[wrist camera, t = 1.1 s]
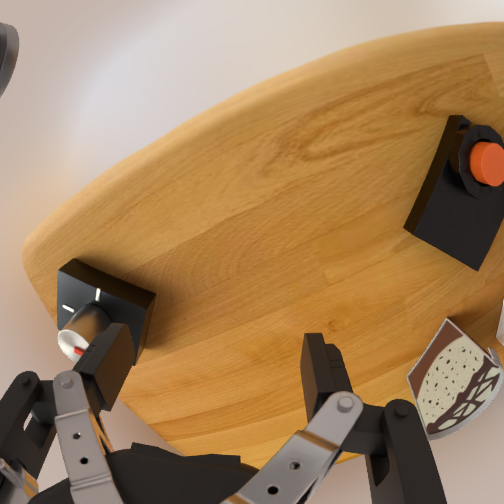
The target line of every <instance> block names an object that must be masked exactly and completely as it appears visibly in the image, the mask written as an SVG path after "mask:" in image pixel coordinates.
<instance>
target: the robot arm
mask: <svg viewBox="0 0 504 504" xmlns="http://www.w3.org/2000/svg"><path fill="white" fill-rule="evenodd" d="M134 360H135V349H134V345H133V341H132V337H131V333H130V329H129V326H128V325H127V324H120V323H111V324H110V326H109V327H108V328H107V330H106V331H105V332H101V333H100V334H98V335H97V336H96V337H94V338H93V340H92V341H91V343H90V344H89V346H88V347H87V348H86V350H85V352H84V353H83V354H82V356H81V357H80V359H79V360H78V362H77V363H76V365H75V366H74V368H73V370H72V371H64V372H61V373H60V374H58V375H57V376H56V377H55V378H54V380H45V381H44V380H42V381H41V380H40V379H39V377H38V376H37V374H36V373H35V372H32V371H26V372H22V373H21V374H19V375H18V376H17V377H16V378H15V379H14V381H13V382H12V384H11V385H10V387H9V388H8V390H7V391H6V393H5V394H4V396H3V398H2V399H1V400H0V504H306V503H307V502H308V500H309V499H310V498H311V497H312V495H313V494H314V493H315V491H316V490H317V488H318V487H319V485H320V484H321V482H322V481H323V480H324V478H325V477H326V475H327V474H328V473H329V471H330V470H331V469H332V467H333V466H334V464H335V463H336V461H337V460H338V458H339V457H340V456H341V454H342V453H343V451H345V452H351V453H358V454H365V459H366V466H367V472H368V478H369V484H370V491H371V498H372V504H447V501H446V498H445V494H444V490H443V487H442V483H441V480H440V476H439V473H438V470H437V466H436V463H435V460H434V457H433V454H432V451H431V448H430V445H429V442H428V439H427V436H426V433H425V430H424V427H423V425H422V422H421V419H420V416H419V414H418V411H417V409H416V407H415V406H414V405H413V404H412V403H411V402H409V401H407V400H403V399H395V400H392V401H390V402H389V403H387V405H386V406H385V407H380V406H373V405H368V404H365V403H363V402H362V400H361V399H360V397H359V396H357V395H356V394H354V393H353V390H352V387H351V383H350V380H349V377H348V374H347V371H346V368H345V364H344V361H343V358H342V355H341V352H340V350H339V349H338V348H337V347H336V346H335V345H334V344H325V342H324V338H323V335H322V333H305V334H304V340H303V347H302V354H301V363H300V369H301V377H302V384H303V391H304V399H305V406H306V413H307V421H308V425H307V426H306V427H305V428H304V429H303V430H302V431H300V430H298V431H296V432H295V433H294V434H293V435H292V436H291V438H290V439H289V440H288V441H287V442H286V443H285V444H284V445H283V446H282V448H281V449H280V450H279V451H278V452H277V453H276V454H275V455H274V456H273V457H272V458H271V459H270V460H269V461H268V462H267V463H266V464H265V465H264V466H263V468H262V469H261V470H259V469H257V468H255V467H253V466H250V465H247V464H244V463H241V460H240V456H236V455H219V454H208V455H198V456H187V457H182V456H179V455H177V454H174V453H171V452H169V451H166V450H164V449H161V448H159V447H155V446H150V445H144V444H139V443H134V442H133V443H132V446H131V449H123V450H118V451H114V449H113V447H112V445H111V443H110V440H109V438H108V435H107V433H106V430H105V427H104V425H103V422H102V419H101V417H100V415H99V414H100V412H101V410H106V411H111V409H112V407H113V405H114V403H115V401H116V398H117V396H118V394H119V392H120V390H121V388H122V386H123V384H124V381H125V379H126V377H127V375H128V373H129V371H130V369H131V367H132V365H133V363H134ZM29 413H31V414H32V418H31V420H30V422H29V424H28V426H27V428H26V429H25V431H24V428H23V427H24V423H25V421H26V419H27V417H28V415H29ZM56 433H57V435H58V439H59V443H60V448H61V452H62V456H63V459H64V463H65V467H66V470H67V473H68V478H66V479H64V480H62V481H61V482H59V483H57V484H55V485H54V486H52V487H50V488H48V489H46V490H44V491H42V492H40V493H39V492H38V484H37V478H38V476H39V473H40V471H41V468H42V466H43V463H44V461H45V458H46V456H47V454H48V451H49V449H50V447H51V444H52V442H53V440H54V438H55V435H56Z"/></svg>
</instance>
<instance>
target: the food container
mask: <svg viewBox="0 0 504 504" xmlns="http://www.w3.org/2000/svg"><path fill="white" fill-rule="evenodd" d="M488 350H489V353H490V355H489V354H488V353H487V352H486V351H485V350H484V349H483V348H482V347H481V346H480V345H479V344H478V343H477V342H476V341H475V340H474V339H473V338H471V337H470V336H469V335H468V334H467V333H466V332H465V331H464V330H463V329H462V328H461V327H459V326H458V325H457V324H456V323H455V322H454V321H453V320H451V319H449V318H447V317H446V319H445V320H444V322H443V324H442V325H441V327H440V328H439V330H438V332H437V333H436V335H435V336H434V338H433V339H432V341H431V342H430V344H429V345H428V347H427V348H426V350H425V351H424V353H423V354H422V356H421V357H420V358H419V360H418V361H417V363H416V364H415V365H414V367H413V368H412V370H411V371H410V372H409V374H408V375H407V376H406V378H407V381H408V383H409V386H410V389H411V392H412V395H413V398H414V401H415V404H416V407H417V410H418V413H419V416H420V419H421V422H422V425H423V427H424V430H425V433H426V436H427V439H428V441H431V440H436V439H440V438H443V437H445V436H448V435H450V434H452V433H454V432H456V431H458V430H460V429H461V428H463V427H464V426H466V425H467V424H469V423H470V422H472V421H473V420H474V419H475V418H476V417H477V416H479V415H480V414H481V413H482V412H483V411H484V410H485V409H486V408H487V407H488V405H489V404H490V403H491V402H492V401H493V399H494V398H495V396H496V395H497V393H498V391H499V389H500V387H501V385H502V382H503V376H504V373H503V368H502V364H501V362H500V359H499V357H498V355H497V353H496V351H494V350H493V349H492V348H489V347H488Z"/></svg>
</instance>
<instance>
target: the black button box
mask: <svg viewBox="0 0 504 504" xmlns="http://www.w3.org/2000/svg"><path fill="white" fill-rule="evenodd" d="M478 142H489V143H496V144H498V145H500V146H501V147H502V148H503V150H504V143H503V141H502V138H501V136H500V135H499V134H498V133H497V132H496V131H495V130H494V129H493V128H491V127H490V126H486V125H475V124H472V123H471V122H470V121H469V120H467V119H466V118H465V117H464V116H463V115H450V116H449V118H448V121H447V124H446V127H445V130H444V132H443V135H442V138H441V141H440V143H439V146H438V149H437V151H436V154H435V156H434V159H433V162H432V164H431V167H430V169H429V171H428V174H427V176H426V179H425V181H424V183H423V186H422V188H421V190H420V192H419V195H418V197H417V199H416V201H415V204H414V206H413V208H412V210H411V212H410V214H409V216H408V219H407V221H406V223H405V225H404V227H403V228H404V229H405V230H407V231H408V232H410V233H411V234H412V235H414V236H416V237H417V238H419V239H421V240H423V241H425V242H427V243H429V244H430V245H432V246H434V247H436V248H438V249H439V250H441V251H443V252H445V253H446V254H448V255H450V256H452V257H453V258H455V259H457V260H458V261H460V262H462V263H464V264H465V265H467V266H469V267H470V268H472V269H474V270H475V271H477V272H478V270H479V268H480V267H481V265H482V263H483V261H484V259H485V257H486V255H487V253H488V251H489V249H490V247H491V245H492V242H493V240H494V238H495V236H496V234H497V232H498V229H499V227H500V225H501V222H502V220H503V218H504V181H503V182H502V183H501V184H500V185H498V186H491V185H488V184H485V183H481V182H479V181H477V180H476V179H475V178H474V176H473V174H472V172H471V169H470V163H469V158H470V153H471V150H472V148H473V147H474V145H475V144H477V143H478Z"/></svg>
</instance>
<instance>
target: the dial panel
mask: <svg viewBox="0 0 504 504" xmlns="http://www.w3.org/2000/svg"><path fill="white" fill-rule="evenodd" d="M155 298H156V294H155V293H152V292H150V291H148V290H145V289H143V288H140V287H138V286H135V285H133V284H131V283H128V282H126V281H123V280H121V279H119V278H116V277H114V276H112V275H110V274H107V273H105V272H103V271H100V270H98V269H96V268H94V267H92V266H89V265H87V264H85V263H83V262H81V261H78V260H76V259H74V258H73V259H72V260H70V261H69V262H68V263H66V264H65V265H64V266H62V267H61V268H60V269H59V270H58V291H57V324H58V330H60V331H61V330H62V329H63V327H64V326H65V325H66V324H67V323H68V322H69V321H70V320H71V318H72V317H73V316H74V315H75V314H76V313H77V312H78V311H79V310H80V309H81V307H83V306H84V305H88V304H91V305H95V306H97V307H99V308H101V309H102V310H103V311H104V312H105V313H106V314H107V315H108V316H109V318H110V320H111V322H112V323H120V324H127V325H128V326H129V329H130V333H131V337H132V341H133V345H134V349H135V360H134V363H133V366H135V365H136V363H137V361H138V359H139V357H140V355H141V353H142V351H143V349H144V344H145V340H146V335H147V331H148V327H149V322H150V318H151V314H152V310H153V306H154V302H155Z"/></svg>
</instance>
